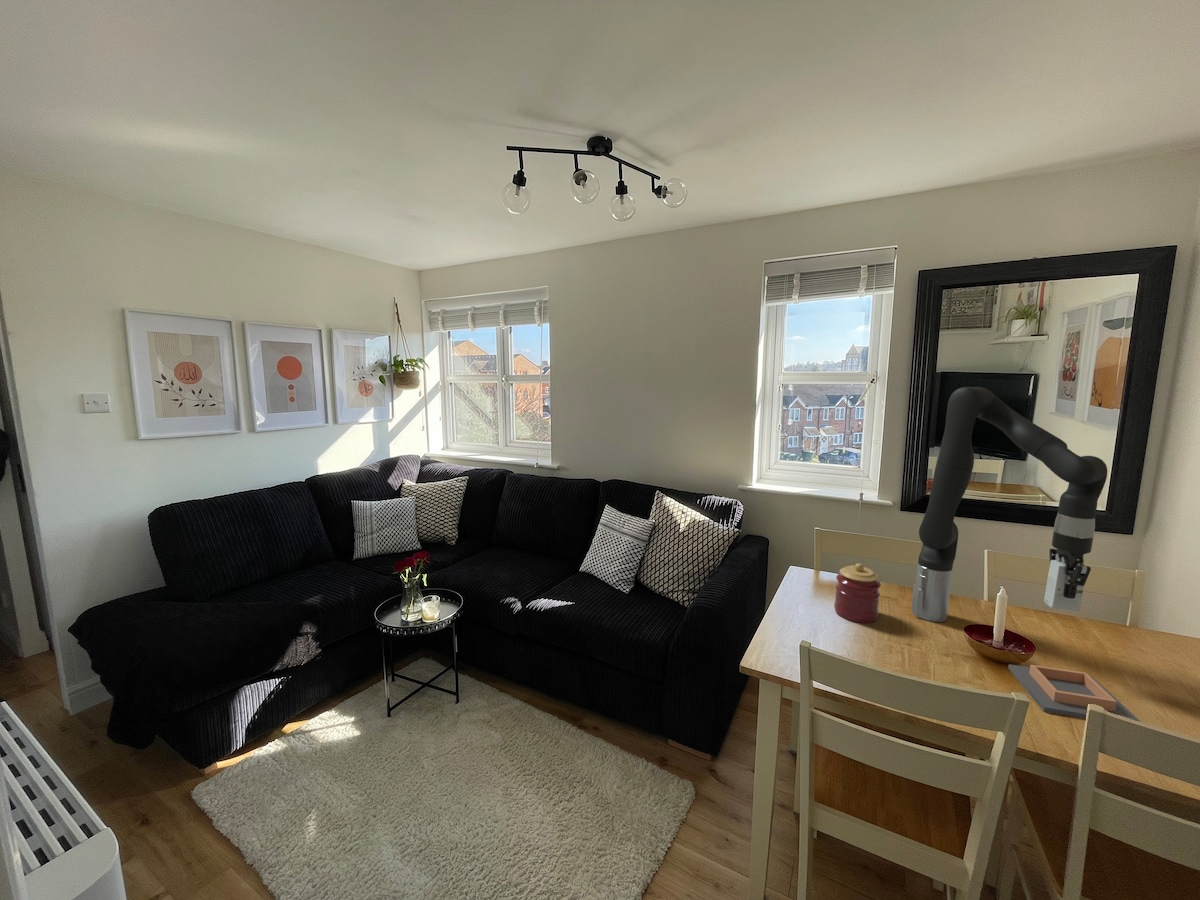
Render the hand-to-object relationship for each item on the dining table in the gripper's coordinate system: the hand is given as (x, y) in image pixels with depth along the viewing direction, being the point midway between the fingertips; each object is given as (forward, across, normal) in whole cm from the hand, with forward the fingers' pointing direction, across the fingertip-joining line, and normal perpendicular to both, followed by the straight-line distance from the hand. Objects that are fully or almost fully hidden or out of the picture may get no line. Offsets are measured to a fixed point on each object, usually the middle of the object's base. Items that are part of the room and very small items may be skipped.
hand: (1063, 593), depth 130 cm
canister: (+22, -16, -46) cm, 53 cm away
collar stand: (+21, +14, -3) cm, 25 cm away
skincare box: (+4, 0, 0) cm, 4 cm away
